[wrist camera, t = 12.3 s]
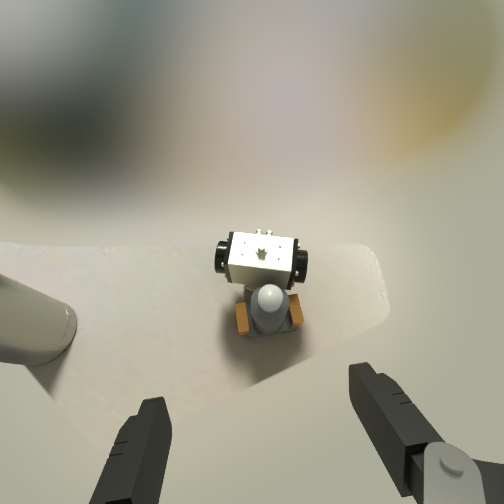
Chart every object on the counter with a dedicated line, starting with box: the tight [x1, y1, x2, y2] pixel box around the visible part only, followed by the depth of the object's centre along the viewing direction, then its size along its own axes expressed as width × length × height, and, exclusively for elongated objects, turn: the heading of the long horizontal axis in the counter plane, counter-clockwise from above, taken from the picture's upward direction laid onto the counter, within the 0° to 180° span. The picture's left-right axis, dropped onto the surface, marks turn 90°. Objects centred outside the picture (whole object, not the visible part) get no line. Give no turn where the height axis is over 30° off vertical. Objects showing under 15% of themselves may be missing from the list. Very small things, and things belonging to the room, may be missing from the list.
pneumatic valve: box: [215, 230, 308, 292], centre depth 37 cm, size 6×12×12 cm, turn 82°
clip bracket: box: [235, 294, 304, 338], centre depth 38 cm, size 9×5×4 cm, turn 99°
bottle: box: [251, 283, 289, 334], centre depth 34 cm, size 5×5×10 cm
